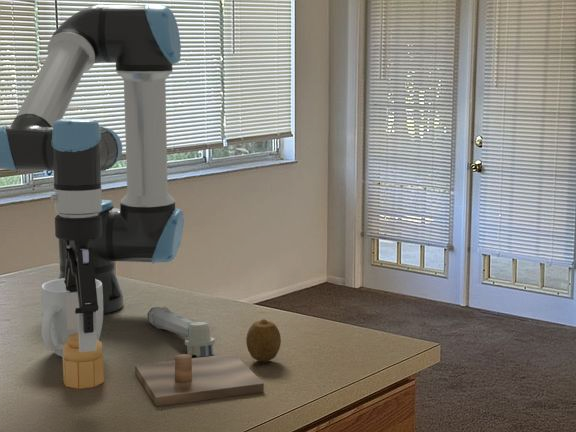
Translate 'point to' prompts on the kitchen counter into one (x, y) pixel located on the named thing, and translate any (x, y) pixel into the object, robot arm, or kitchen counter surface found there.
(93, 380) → the acorn cap nut
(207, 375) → the post board
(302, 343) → the kitchen counter surface
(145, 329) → the kitchen counter surface
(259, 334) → the fruit
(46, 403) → the kitchen counter surface
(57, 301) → the mug
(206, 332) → the electric scrub brush
